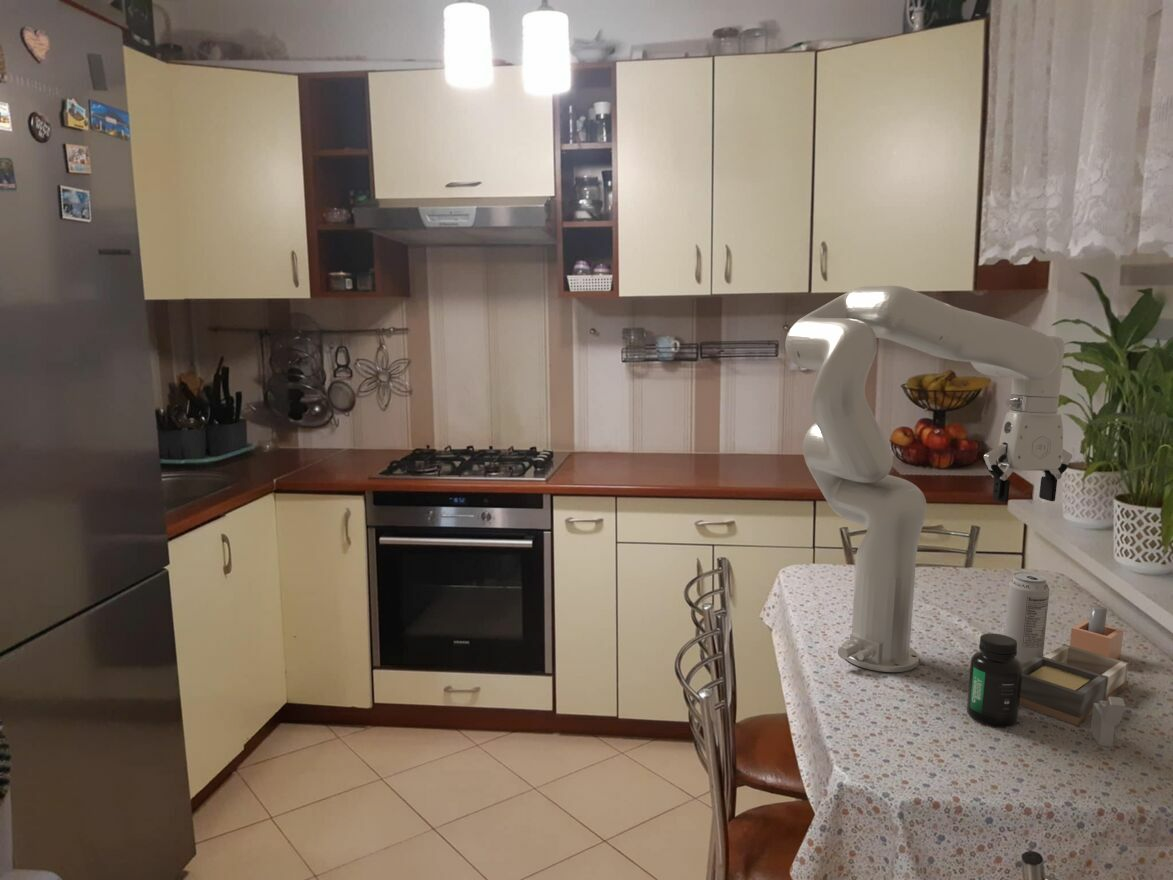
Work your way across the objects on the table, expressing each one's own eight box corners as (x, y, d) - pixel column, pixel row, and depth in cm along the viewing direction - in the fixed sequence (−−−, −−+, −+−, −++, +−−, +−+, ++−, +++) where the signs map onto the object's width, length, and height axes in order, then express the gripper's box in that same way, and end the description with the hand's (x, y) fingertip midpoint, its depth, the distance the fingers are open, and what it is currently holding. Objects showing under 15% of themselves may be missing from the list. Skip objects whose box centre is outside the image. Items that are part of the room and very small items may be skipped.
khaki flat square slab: (1072, 700, 123) (1073, 691, 123) (1025, 685, 128) (1026, 676, 128) (1090, 688, 127) (1090, 679, 127) (1044, 673, 132) (1045, 665, 132)
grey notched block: (1089, 730, 119) (1095, 677, 118) (1103, 732, 119) (1109, 679, 117) (1105, 756, 112) (1111, 700, 111) (1119, 758, 112) (1126, 701, 111)
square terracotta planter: (1107, 666, 141) (1112, 618, 139) (1068, 655, 145) (1073, 608, 144) (1120, 657, 145) (1125, 610, 143) (1082, 646, 149) (1087, 600, 148)
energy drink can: (1023, 652, 146) (1030, 569, 144) (1050, 666, 141) (1059, 580, 138) (994, 656, 145) (1001, 572, 142) (1020, 670, 139) (1029, 583, 137)
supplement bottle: (973, 725, 120) (980, 646, 118) (960, 704, 127) (967, 628, 125) (1024, 730, 119) (1032, 650, 117) (1009, 708, 126) (1016, 632, 124)
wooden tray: (1077, 725, 121) (1080, 696, 120) (1006, 700, 128) (1009, 672, 128) (1127, 687, 133) (1130, 660, 132) (1060, 666, 141) (1063, 640, 140)
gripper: (1005, 407, 143) (995, 506, 145) (1092, 408, 146) (1080, 504, 149) (976, 403, 150) (967, 496, 153) (1059, 403, 154) (1049, 494, 156)
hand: (1023, 500), depth 151 cm, fingers open, 9 cm apart
